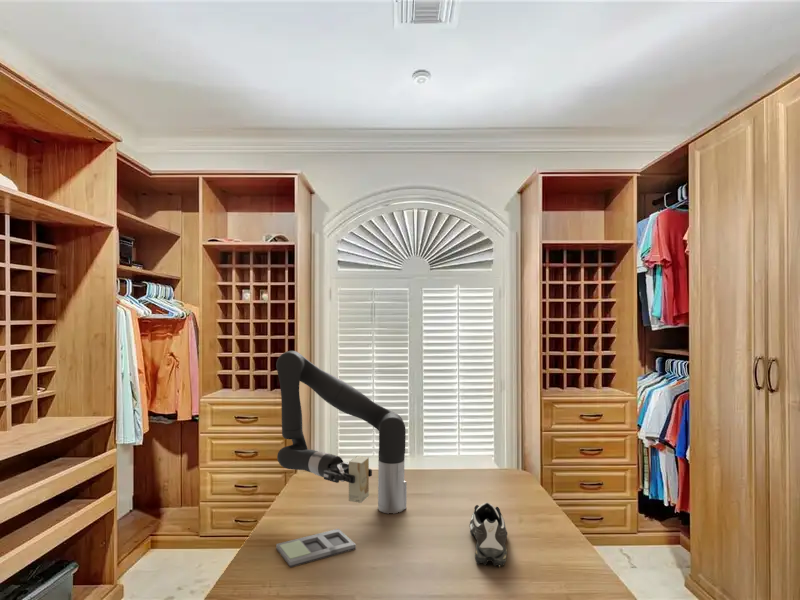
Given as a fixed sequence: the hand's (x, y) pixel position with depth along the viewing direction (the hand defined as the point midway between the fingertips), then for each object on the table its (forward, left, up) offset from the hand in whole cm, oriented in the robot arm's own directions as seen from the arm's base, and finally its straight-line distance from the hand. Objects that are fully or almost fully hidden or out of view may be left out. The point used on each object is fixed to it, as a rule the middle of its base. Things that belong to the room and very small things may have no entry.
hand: (362, 476), depth 154 cm
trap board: (+14, -2, -20) cm, 24 cm away
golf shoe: (-32, +22, -20) cm, 44 cm away
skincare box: (0, -2, -7) cm, 8 cm away
